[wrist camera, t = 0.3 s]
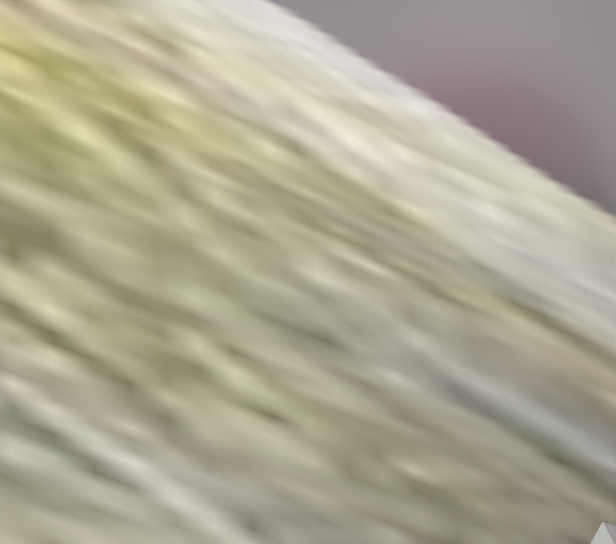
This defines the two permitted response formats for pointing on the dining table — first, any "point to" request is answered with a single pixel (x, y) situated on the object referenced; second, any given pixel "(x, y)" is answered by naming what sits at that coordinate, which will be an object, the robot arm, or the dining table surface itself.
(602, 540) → the robot arm
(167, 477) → the dining table surface
